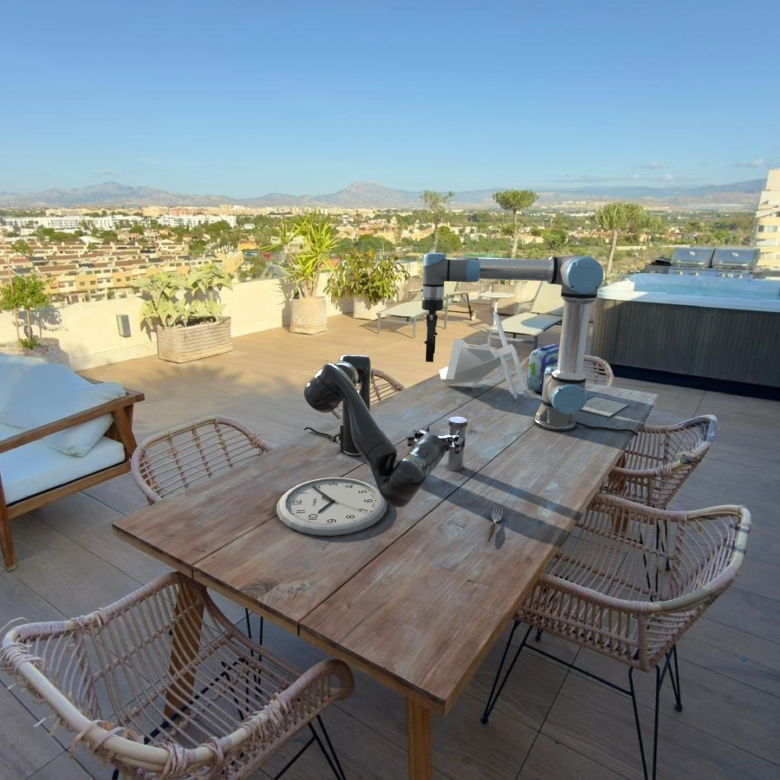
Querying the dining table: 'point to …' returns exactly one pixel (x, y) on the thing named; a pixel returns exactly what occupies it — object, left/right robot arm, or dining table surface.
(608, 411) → the invitation card
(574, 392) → the right robot arm
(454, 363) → the white plastic object
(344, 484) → the wall clock
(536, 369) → the lunch box
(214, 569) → the dining table surface
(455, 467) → the jar
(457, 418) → the lid
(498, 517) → the fork
